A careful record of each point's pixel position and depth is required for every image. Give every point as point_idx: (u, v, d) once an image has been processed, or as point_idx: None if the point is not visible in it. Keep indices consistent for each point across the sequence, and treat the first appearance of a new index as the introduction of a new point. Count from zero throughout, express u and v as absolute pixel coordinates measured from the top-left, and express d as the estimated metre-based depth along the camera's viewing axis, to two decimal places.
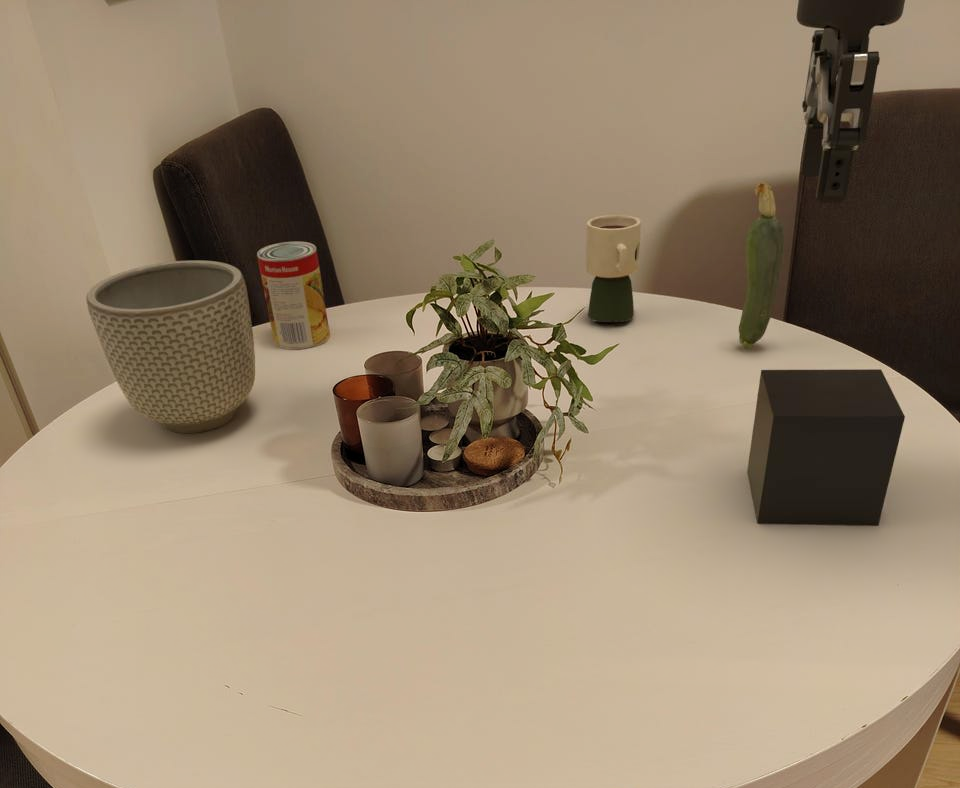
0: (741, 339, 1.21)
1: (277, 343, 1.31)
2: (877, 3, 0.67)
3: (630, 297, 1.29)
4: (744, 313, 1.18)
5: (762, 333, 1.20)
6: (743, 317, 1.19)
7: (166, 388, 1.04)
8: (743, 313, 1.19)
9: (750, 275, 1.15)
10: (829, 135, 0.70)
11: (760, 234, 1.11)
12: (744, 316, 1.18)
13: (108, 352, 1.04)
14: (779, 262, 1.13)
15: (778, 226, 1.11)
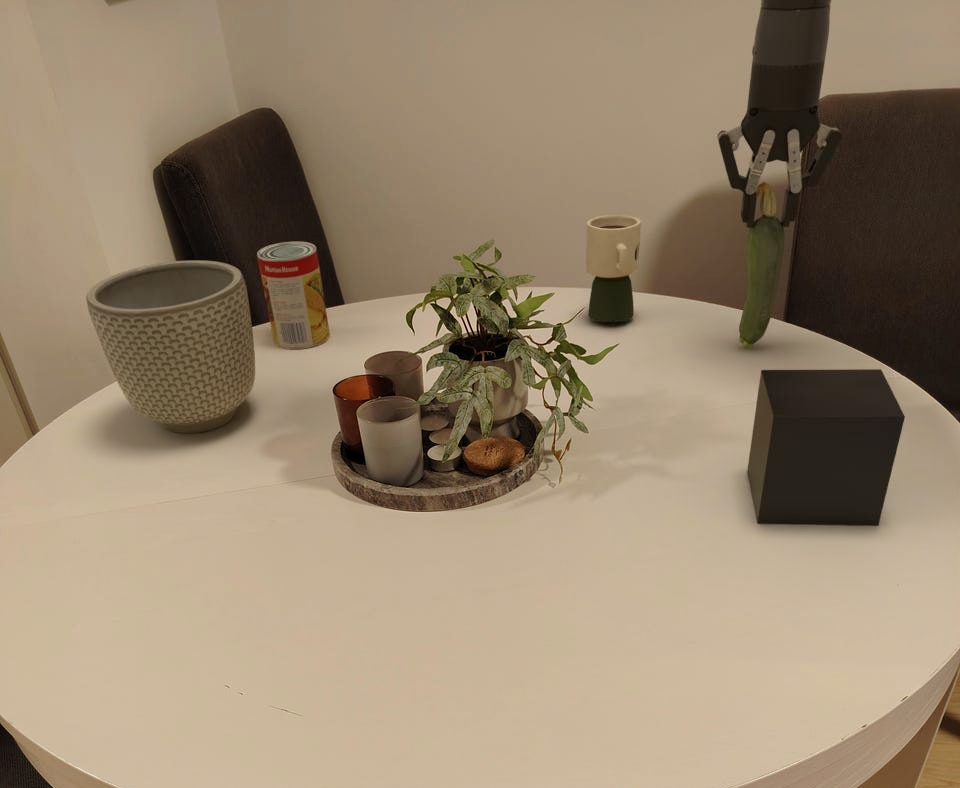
0: (741, 339, 1.21)
1: (277, 343, 1.31)
2: (752, 94, 1.03)
3: (630, 297, 1.29)
4: (744, 313, 1.18)
5: (762, 333, 1.20)
6: (743, 317, 1.19)
7: (166, 388, 1.04)
8: (743, 313, 1.19)
9: (751, 275, 1.15)
10: None
11: (761, 234, 1.11)
12: (744, 316, 1.18)
13: (108, 352, 1.04)
14: (780, 262, 1.13)
15: (779, 226, 1.11)
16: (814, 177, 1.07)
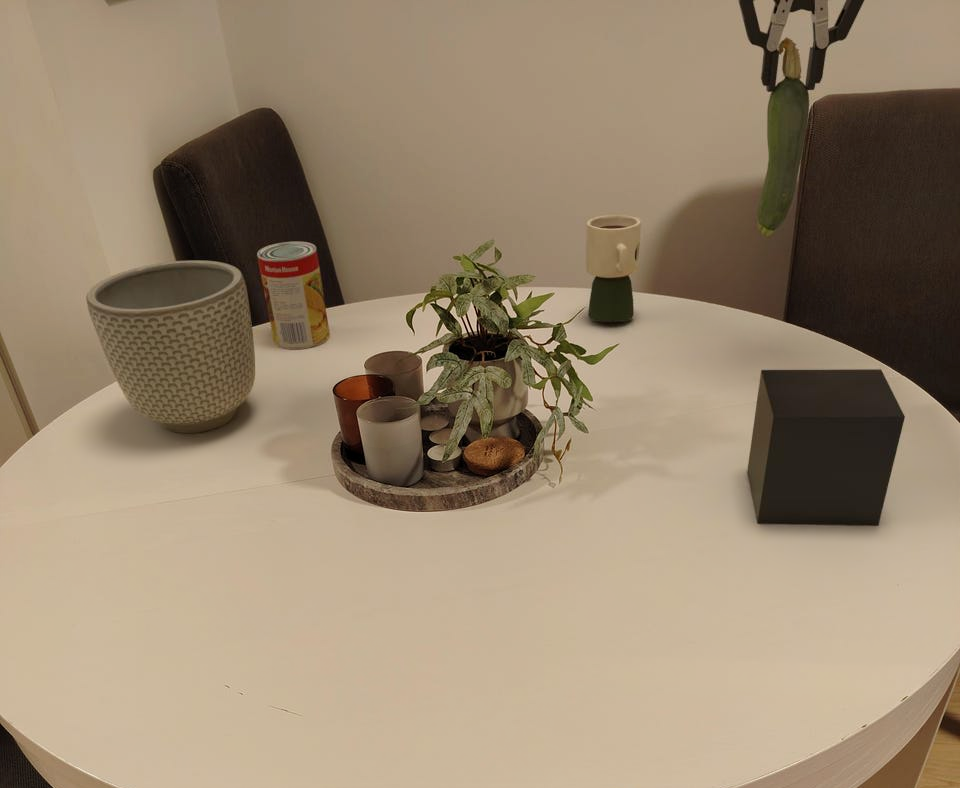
0: (760, 225, 1.10)
1: (277, 343, 1.31)
2: None
3: (630, 297, 1.29)
4: (764, 194, 1.08)
5: (783, 217, 1.09)
6: (763, 198, 1.08)
7: (166, 388, 1.04)
8: (763, 194, 1.08)
9: (771, 148, 1.04)
10: None
11: (783, 97, 1.01)
12: (763, 197, 1.08)
13: (108, 352, 1.04)
14: (804, 132, 1.03)
15: (803, 89, 1.01)
16: (843, 29, 0.97)
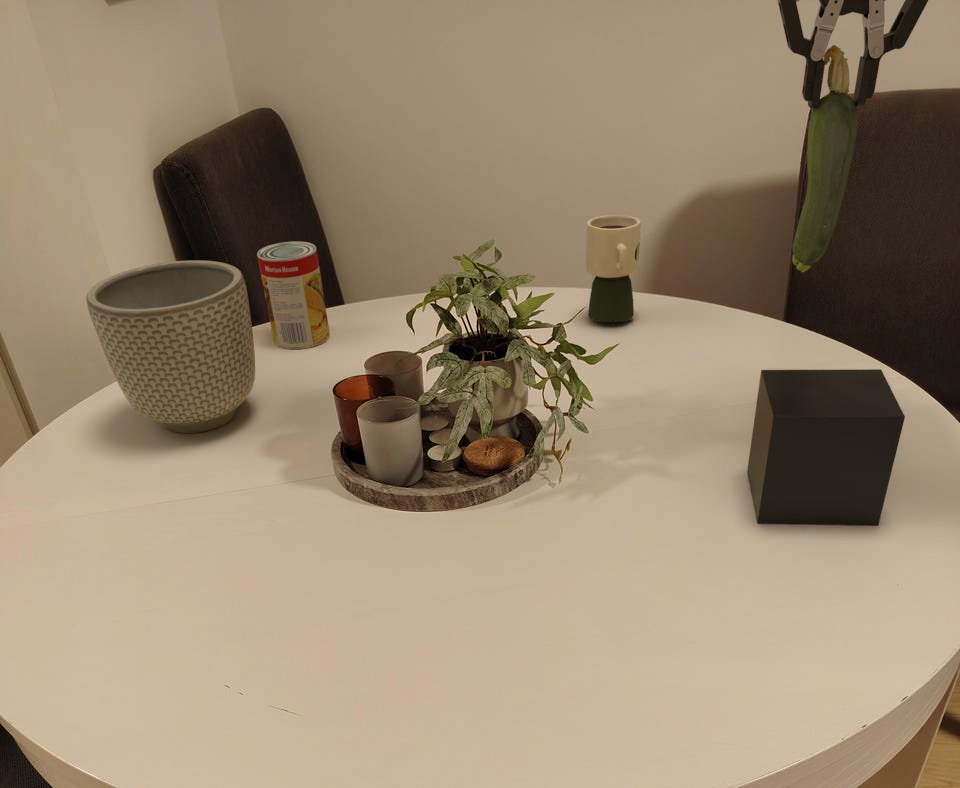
0: (795, 259, 0.96)
1: (277, 343, 1.31)
2: None
3: (630, 297, 1.29)
4: (801, 224, 0.94)
5: (823, 251, 0.95)
6: (800, 230, 0.94)
7: (166, 388, 1.04)
8: (800, 225, 0.94)
9: (812, 172, 0.90)
10: None
11: (829, 115, 0.86)
12: (801, 229, 0.94)
13: (108, 352, 1.04)
14: (850, 155, 0.89)
15: (852, 106, 0.86)
16: (901, 35, 0.82)
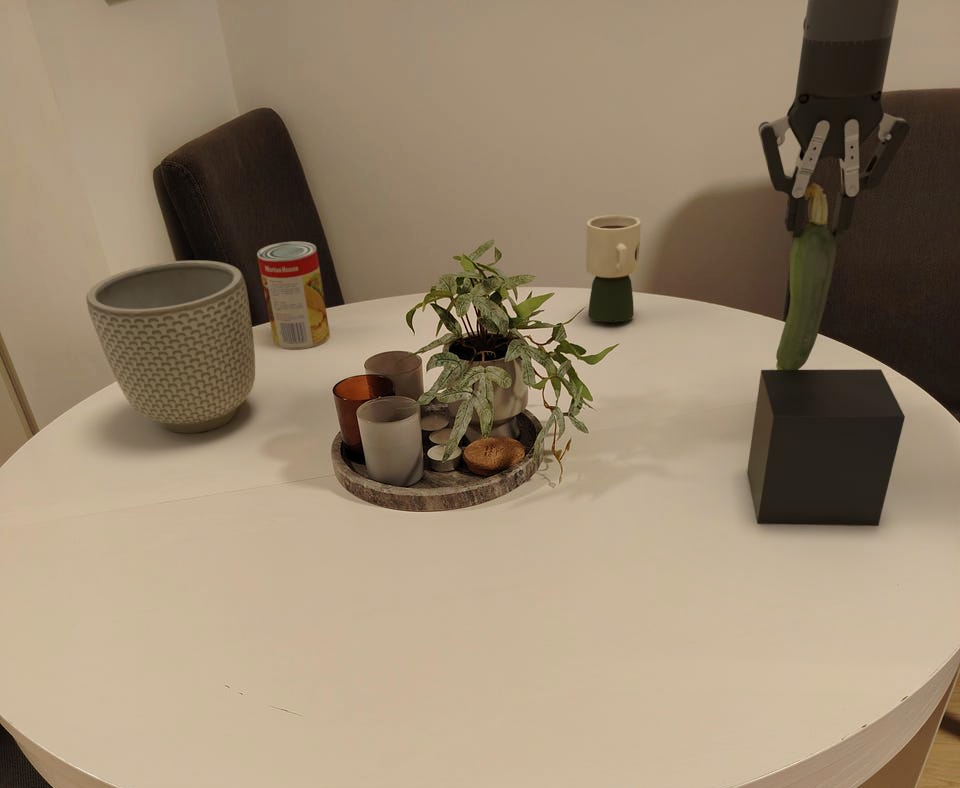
0: (779, 367, 1.03)
1: (277, 343, 1.31)
2: (802, 77, 0.85)
3: (630, 297, 1.29)
4: (784, 337, 1.01)
5: (804, 361, 1.02)
6: (783, 342, 1.01)
7: (166, 388, 1.04)
8: (783, 337, 1.01)
9: (794, 293, 0.97)
10: None
11: (809, 245, 0.93)
12: (784, 341, 1.01)
13: (108, 352, 1.04)
14: (829, 279, 0.96)
15: (830, 236, 0.93)
16: (875, 177, 0.89)
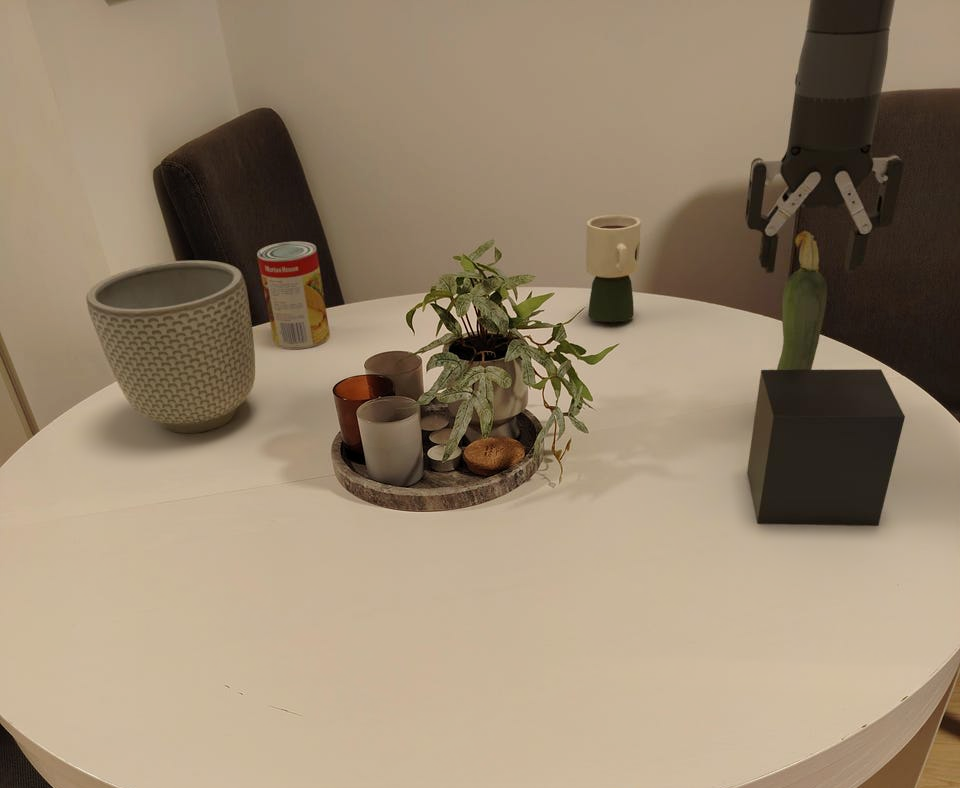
0: None
1: (277, 343, 1.31)
2: (794, 130, 0.88)
3: (630, 297, 1.29)
4: None
5: None
6: None
7: (166, 388, 1.04)
8: None
9: (787, 335, 1.00)
10: None
11: (800, 290, 0.96)
12: None
13: (108, 352, 1.04)
14: (821, 321, 0.98)
15: (821, 281, 0.96)
16: (886, 215, 0.92)
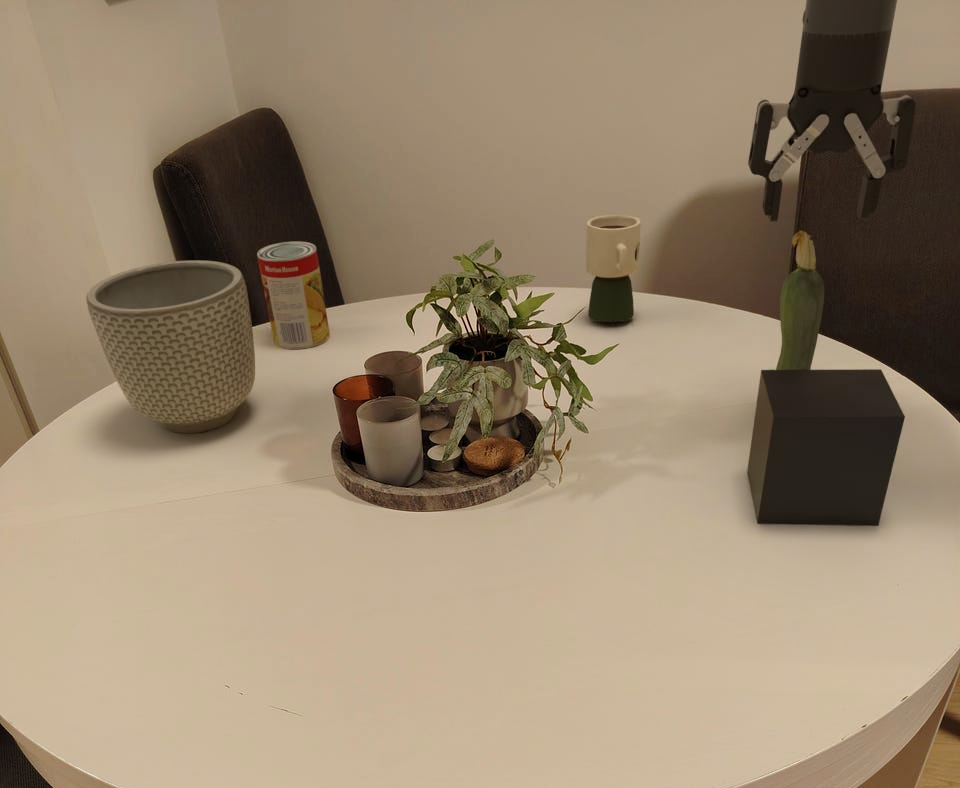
0: None
1: (277, 343, 1.31)
2: (802, 70, 0.85)
3: (630, 297, 1.29)
4: None
5: None
6: None
7: (166, 388, 1.04)
8: None
9: (785, 335, 1.00)
10: None
11: (798, 289, 0.96)
12: None
13: (108, 352, 1.04)
14: (819, 320, 0.99)
15: (818, 281, 0.96)
16: (900, 158, 0.88)
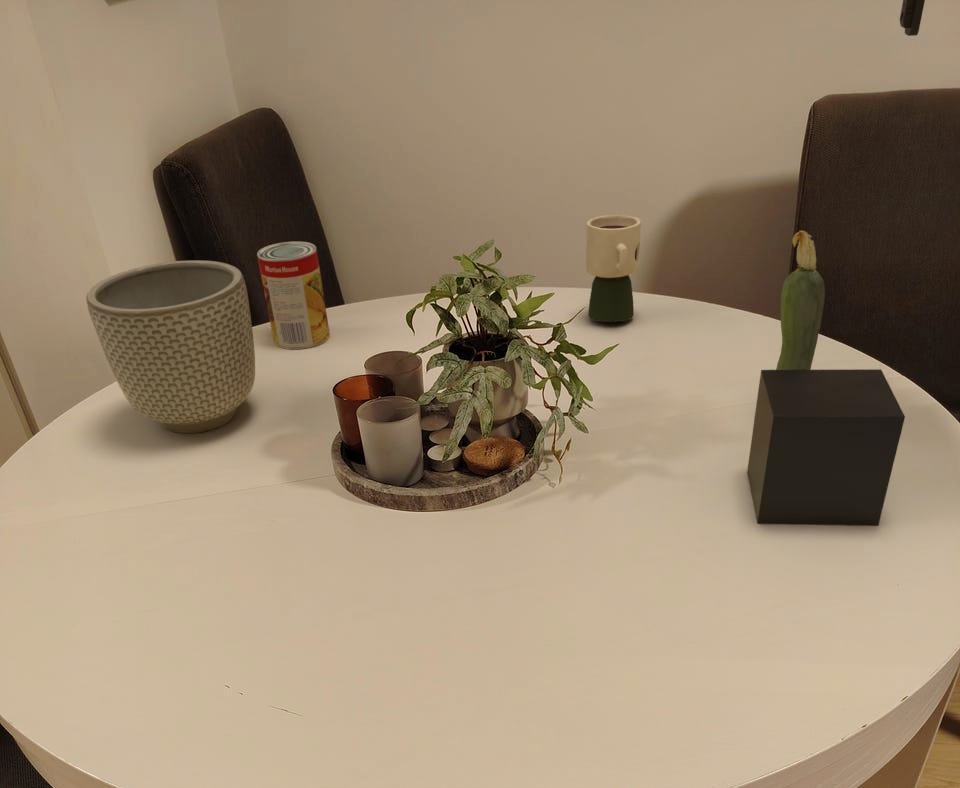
0: None
1: (277, 343, 1.31)
2: None
3: (630, 297, 1.29)
4: None
5: None
6: None
7: (166, 388, 1.04)
8: None
9: (785, 335, 1.00)
10: None
11: (798, 289, 0.96)
12: None
13: (108, 352, 1.04)
14: (819, 320, 0.99)
15: (819, 281, 0.96)
16: None
